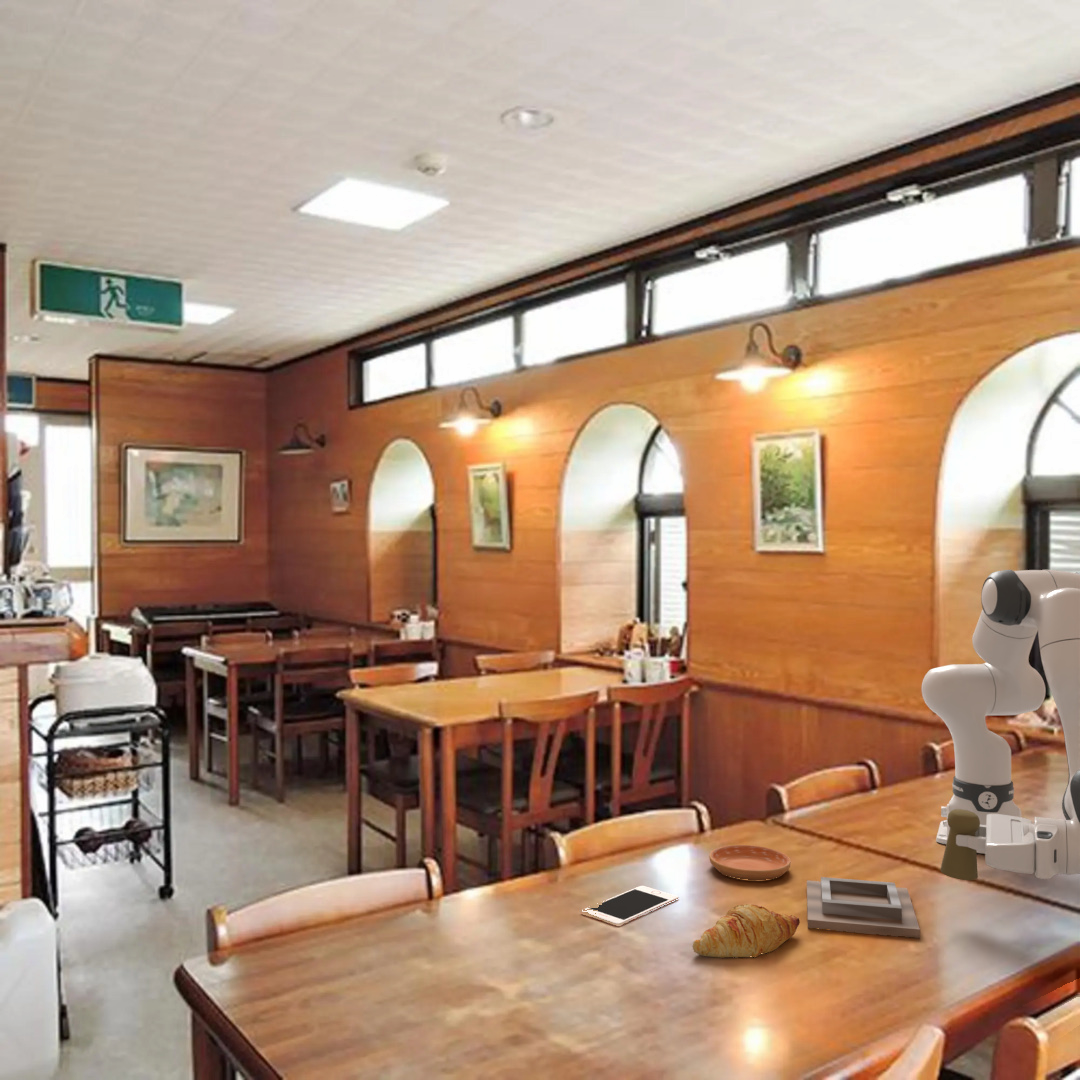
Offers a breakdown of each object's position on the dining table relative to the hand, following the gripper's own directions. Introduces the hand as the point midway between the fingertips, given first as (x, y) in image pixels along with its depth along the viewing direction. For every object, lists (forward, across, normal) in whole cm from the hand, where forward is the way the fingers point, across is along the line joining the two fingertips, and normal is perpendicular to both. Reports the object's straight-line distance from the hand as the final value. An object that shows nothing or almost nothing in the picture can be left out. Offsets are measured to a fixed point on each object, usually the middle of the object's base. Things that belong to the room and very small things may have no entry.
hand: (956, 834), depth 175 cm
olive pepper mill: (0, 0, +7) cm, 7 cm away
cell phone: (+54, +16, +16) cm, 59 cm away
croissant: (+31, +25, +15) cm, 43 cm away
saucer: (+39, -12, +16) cm, 43 cm away
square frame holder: (+16, +2, +15) cm, 22 cm away
